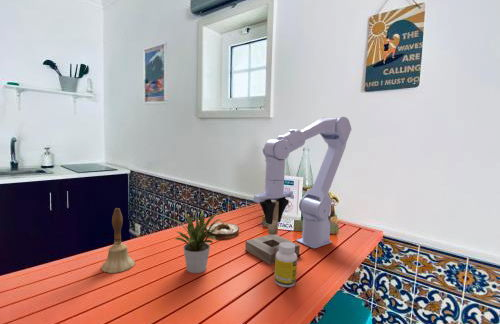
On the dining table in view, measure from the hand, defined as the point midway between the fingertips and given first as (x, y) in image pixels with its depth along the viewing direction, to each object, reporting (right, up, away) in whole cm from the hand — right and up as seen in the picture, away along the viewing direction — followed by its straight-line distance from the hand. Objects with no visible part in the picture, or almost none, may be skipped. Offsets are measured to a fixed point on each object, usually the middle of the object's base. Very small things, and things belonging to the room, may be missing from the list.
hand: (273, 222), depth 86 cm
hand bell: (-43, -10, -10) cm, 45 cm away
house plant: (-20, -11, -11) cm, 25 cm away
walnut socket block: (0, -10, +1) cm, 10 cm away
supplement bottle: (+2, -12, -16) cm, 20 cm away
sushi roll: (-17, -8, +17) cm, 26 cm away
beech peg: (0, -3, 0) cm, 3 cm away
